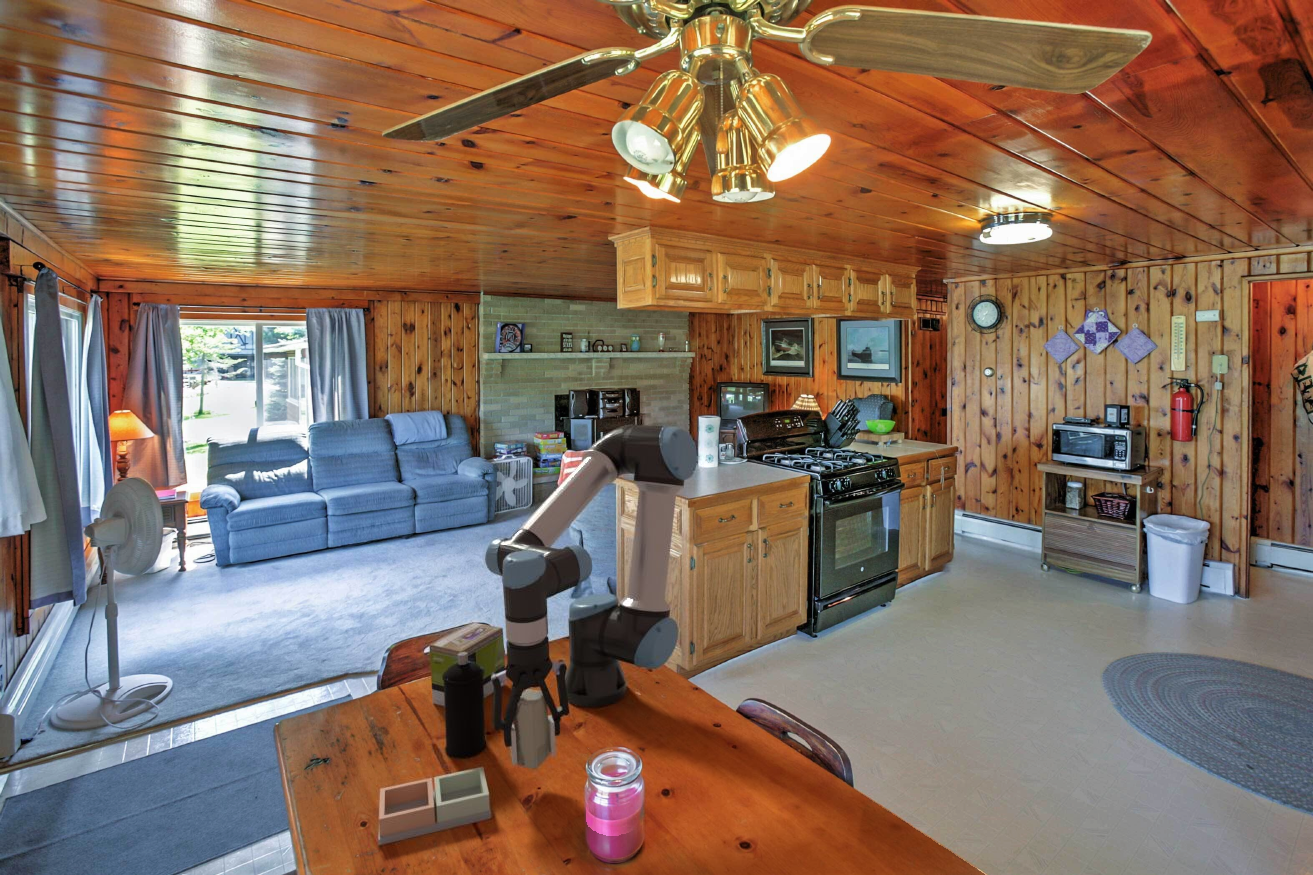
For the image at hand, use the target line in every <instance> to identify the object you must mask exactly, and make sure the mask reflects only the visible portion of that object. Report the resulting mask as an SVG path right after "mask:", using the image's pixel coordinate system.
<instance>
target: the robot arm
mask: <svg viewBox="0 0 1313 875" xmlns="http://www.w3.org/2000/svg"><path fill="white" fill-rule="evenodd" d="M695 443H696V442H695V441H694V439H693V437H692V435H691V433H689V432H688V431H687V430H686V429H684V428H681V427H676V426H672V425H671V426H670V425H669V426H668V425H644V424H643V425H641V424H639V425H638V424H625V425H622V426H619V427H617V428H615V429H613V430H611V431H609V432H608V433H606V434H604V435H602V437H600V438H599V439H598V440H597V441H595V442H594V443H593V444H592V445H591V446H590V447H588V448H587V450H586V451H585V452H584V453H583V454H582V456H581V462H579V465H578V466H576V467H575V469H573V470H572V472H570V473H569V474H568V476H567V477H566V478H565V479H564V480H563V481H562V482H561V483H560V485H558V487H557V488H556V489H555V490H554V491H553V492H552V493H551V494H550V495H549V496H548V497H547V498H546V499H545V500H544V501H543V502H542V504H540V506H539V507H538V508H537V509H536V510H535V511H534V512H533V513H532V514H531V515H530V516H529V517H528V518H527V519H526V520H525V521H524V523H523V524H522V525H521V526H520V527H519V528H518V529H517V530H516V531H514V533H513V535H511V536H510V538H508V537H499V538H496V539H494V540H493V541H491V542H490V543H489V545H488V547H487V548H486V551H485V555H484V557H485V558H484V560H485V561H484V562H485V566H486V567H487V569H488V571H490V572H491V573H492V574H494V575H497V576H500V577H501V582H502V590H503V604H504V618H505V620H504V621H505V622H504V623H505V638H506V643H505V644H506V645H505V646H506V659H507V661H506V665H505V671H502V672H500V673H498V674H497V673H495V672H494V673H492V674H491V680H492V683H493V686H494V691H493V693H492V696H493V697H492V725H493V729H494V730H495V732H496V731H503V743H504V746H505V748H509V747H510V748H509V750H510V759H511V763H512V766H516V765H517V748H516V731H515V727H514V726H515V724H514V717H515V714H516V711H517V707H518V704H517V703H519V700H520V697H521V696H522V693H523V692H524V691H525V690H526V689H530V688H533V689H534V688H539V689H540V691H542V693H543V696H544V698H545V700H546V702H547V707H548V710H549V711H550V713H551V714H550V715H549V714H548V726H549V746H550V755H551V757H554V756H556V751H557V750H556V736H560V734H561V723H560V722H561V721H562V717H564V716H568V715H569V714H570V706H569V705H570V704H572V705H574V706H578V707H584V708H585V707H586V708H600V707H604V706H610V705H612V704H614V703H617V702H618V701H620V700H622V699H623V697H625V695H626V694H627V680H626V677H625V673H624V671H623V668H622V665H621V662H623V663H627V664H631V665H633V666H635V667H638V668H645V669H648V670H657V669H659V668H661V667H663V666H664V665H665V664H666V663H668V661H669V659H670V658H671V657H672V655H673V653H674V651H675V649H676V646H677V643H678V639H679V626H678V623H677V621H676V620H675V619H673V618H672V617H670V616H671V606H670V604H669V603H668V602H667V601H666V590H667V583H668V573H669V572H668V571H669V562H670V555H671V546H672V538H673V537H672V536H673V526H674V518H675V510H676V502H677V494H678V493H679V492H680V491H682V490H683V489H684V486H685V481H686V480H689V479H690V478H692V477H693V475H694V472H695V471H696V468H697V464H698V452H697V448H696V447H697V446H696V444H695ZM627 474H632V475H633V483H634V485H636V488H637V489H638V497H637V506H636V515H635V524H634V532H633V533H634V534H633V541H632V549H631V550H632V551H631V558H630V567H629V568H630V569H629V578H628V584H627V585H628V586H627V593H626V596H624V597H623V598H622V599H621V600H619V598H618V597H617V595H615V594H613V593H612V594H611V593H594V594H589V595H585V596H582V597H579V598H577V599H575V600H573V601H572V602H571V604H570V605H569V607H568V611H569V612H568V619H567V620H568V621H567V622H568V642H569V643H568V644H569V646H568V647H569V663H568V666H567V664H566V662H565V661H564V660H563V659H559V660H558V661H552V660H551V658H550V642H549V641H550V640H549V638H550V637H549V636H548V634H549V619H548V599H549V598H551V597H554V596H556V595H559V594H561V593H562V592H565V591H568V590H569V589H572V588H575V587H577V586H579V585H580V584H581V583H583V582H585V581H587V580H588V579H589V578H590V577H591V575H592V572H593V560H592V557H591V555H590V553H589V551H588V550H587V549H585V548H584V547H583V546H581V545H577V544H573V545H567V546H564V547H563V548H556V547H555V548H554V547H552V546H553V545H554V544H555V543H556V541H557V540H558V539H559V538H560V537H561V535H563V533H564V532H565V531H566V530H567V529H568V528H569V527H570V526H571V525H572V523H573V522H574V521H575V520H576V519H577V518H578V517H579V515H581V513H582V512H583V511H584V510H585V509H586V508H587V506H588V505H589V504H590V503H591V502H592V501H593V499H595V497H596V496H597V495H598V494H599V493H600V492H601V490H602V489H603V488H604V487H605V486H606V484H607V485H608V484H612V483H614V482H615V481H616V479H618V477H620V476H622V475H627ZM551 670H552V671H553V673H554V674H555V678H556V679H555V680H556V686H557V694H558V699H559V700H558V701H559V702H558V703H559V706H558V707H556V704H555V701H554V699H553V697H552V695H551V692H550V690H549V688H548V685H547V684H546V683H547V682H546V681H545V680H546V678H547V677H548V675H549V674H550V672H551ZM505 679H506V680H507V679H508V680H510V682H511V683H512V685H511V691H510V696H509V698H508V702H507V706H506V709H505V713H504V717H503V719H502V715H503V713H502V712H503V711H502V710H503V709H502V707H503V689H502V688H503V687H504V686H505V685H504V683H505ZM501 686H502V687H501ZM569 703H570V704H569ZM517 766H518V765H517Z"/></svg>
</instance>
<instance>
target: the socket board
mask: <svg viewBox="0 0 1313 875" xmlns="http://www.w3.org/2000/svg"><path fill="white" fill-rule="evenodd" d="M485 773H486V772H485V770H484V766H479V767H476V768H471V769H467V770H466V769H465V770H462V771H457V772H453V773H452V772H451V773H448V774H443V775H439V776H434V777H433V778H432V777H429V778H428V777H427V778H424V779H419V780H415V781H410V782H406V783H401V784H396V785H392V786H386V787H383V788H380V789H379V805H378V806H379V807H378V808H379V810H378V811H379V812H378V836H377V837H378V838H377V839H378V846H381V845H382V846H383V845H386V844H390V843H395V842H398V841H399V842H400V841H403V840H407V839H411V838H415V837H419V836H423V835H427V834H431V833H436V832H440V831H445V830H449V829H452V828H457V827H461V826H465V825H470V824H473V823H477V822H481V821H485V820H489V819H492V809H491V806H490V792H489V788H488V783H487V780H486V779H487V778H486V774H485ZM433 781H434V782H433ZM433 783H434V785H433ZM433 786H434V788H433Z"/></svg>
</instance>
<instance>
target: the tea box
mask: <svg viewBox="0 0 1313 875" xmlns="http://www.w3.org/2000/svg"><path fill="white" fill-rule="evenodd" d="M504 644H505V642H504V628H503V627H500V626H499V627H498V626H494V625H488V624H483V623H477V622H473V621H472V622H470V623H468V624H466V625H464V626H462V627H460V628H459V629H456V630H455V631H453V632H450V633H449V634H447V635H445V636H443V637H440V638H439V639H438V640H436V641H434V642H431V643H429V645H428V646H429V661H430V663H429V664H430V676H431V679H430V680H431V696H432V697H431V698H432V703H433V704H435V705H439V706H442V707H444V708H445V701H444V681H443V679H442V675H443V674H444V672H445V671H446V670H447V669H448V668H449V667H450V666H452V665H454V664H456V663H458V653H460V652H467V653H468V661H469V662H474V663H476V664H478V665H479V666H480V667H482V668H483V669H484V675H483V687H484V699H485V698H487V697H488V696H490V695H491V694H493V691H494V686H493V683H492V680H491V674H492V673H494V672H495V673H497V674H498V673H500V672H502V671H505V668H506V659H505V658H506V656H505V645H504ZM506 684H507V678H506V679H505V683H504V685H503V686H505V685H506ZM503 686H501V687H502V688H503Z"/></svg>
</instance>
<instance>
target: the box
mask: <svg viewBox="0 0 1313 875" xmlns="http://www.w3.org/2000/svg"><path fill="white" fill-rule="evenodd" d="M517 704H518V707H517V711H516V714H515V717H514V721H513V724H514V728H515V731H516V748H517V766H519V767H523V768H525V769H531V770H537V769H538V768H539V767H540V766H541V765H542V764H543V763H544V762H545V761H546V760H547V758H548V757H550V755H551V753H550V746H549V726H548V716H549V713H548V712H549V711H548V710H549V707H548V705H547V702H546V700H545V698H544V696H543V693H542V691H541V690H536V689H532V688H531V689H530V688H528V689H525V690H523V693H522V696H521V697H520V700H519V703H517Z"/></svg>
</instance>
